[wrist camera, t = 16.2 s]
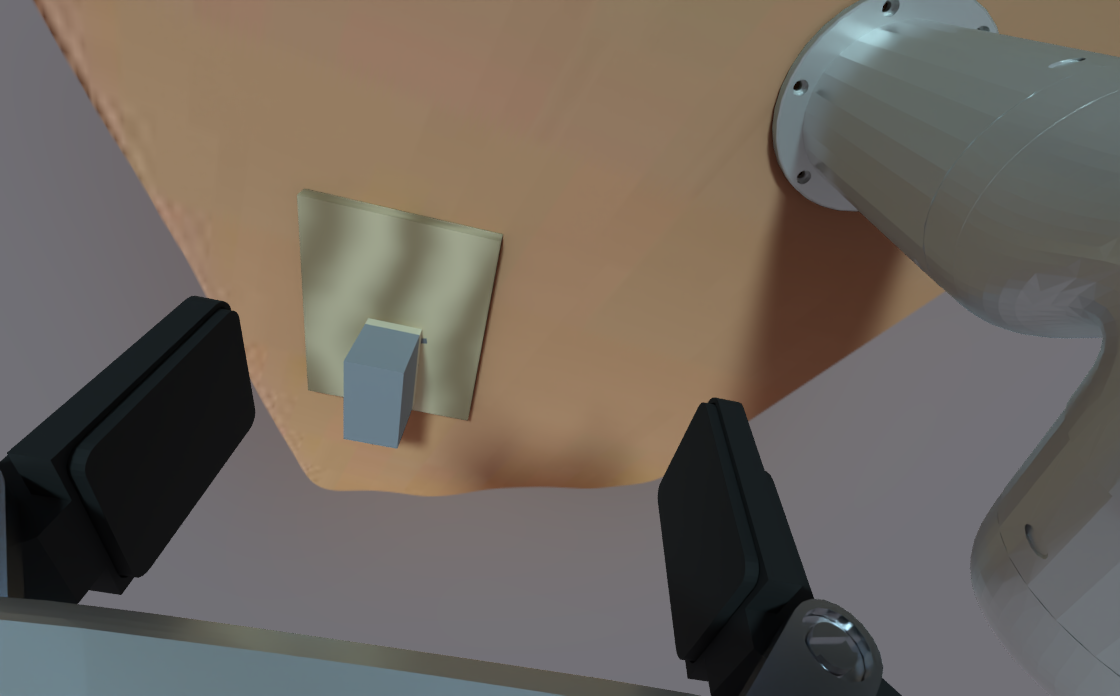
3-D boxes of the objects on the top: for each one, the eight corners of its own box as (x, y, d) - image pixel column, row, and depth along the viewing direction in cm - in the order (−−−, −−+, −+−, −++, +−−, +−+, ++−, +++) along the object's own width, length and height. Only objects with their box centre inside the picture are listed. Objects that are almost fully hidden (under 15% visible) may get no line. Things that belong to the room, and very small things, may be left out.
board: (502, 234, 39) (500, 241, 38) (469, 411, 49) (467, 420, 48) (304, 188, 37) (296, 194, 36) (313, 381, 48) (308, 390, 47)
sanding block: (422, 329, 43) (403, 372, 38) (414, 402, 47) (397, 448, 43) (368, 318, 42) (343, 360, 38) (366, 392, 47) (343, 438, 42)
